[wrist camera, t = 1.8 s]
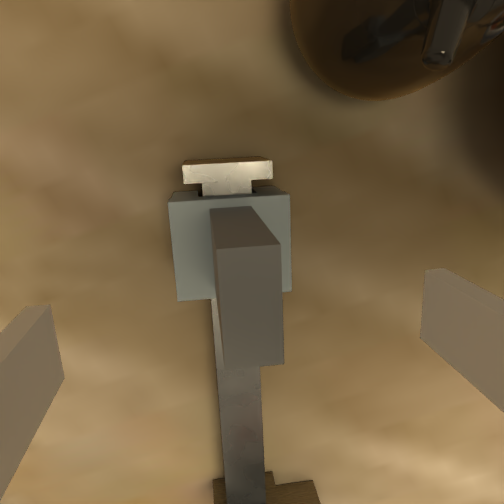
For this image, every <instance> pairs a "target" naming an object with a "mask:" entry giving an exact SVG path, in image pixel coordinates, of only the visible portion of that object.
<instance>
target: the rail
mask: <svg viewBox="0 0 504 504" xmlns="http://www.w3.org/2000/svg"><path fill="white" fill-rule="evenodd" d="M182 168H183V180H184V184H191V183H202V192H203V197H204V196H220V195H236V194H251V193H252V186H251V180H258V179H273V166H272V160H269V159H266V158H263V157H241V158H222V159H204V160H185V161H184V163H183V165H182ZM211 307H212V320H213V332H214V345H215V358H216V371H217V383H218V396H219V409H220V422H221V435H222V447H223V460H224V473H225V478H222V479H214V480H213V493H214V504H279V500H278V495H277V491H276V486H275V482H274V477H273V473H272V472H265V468H264V447H263V425H262V403H261V382H260V367H252V368H243V369H234V370H225V366H224V358H223V350H222V341H221V333H220V325H219V316H218V308H217V299H216V298H213V299H211Z"/></svg>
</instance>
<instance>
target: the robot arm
mask: <svg viewBox="0 0 504 504" xmlns="http://www.w3.org/2000/svg"><path fill="white" fill-rule="evenodd" d="M420 338H421V339H422V340H423V341H424V342H425V343H426V344H428V345H429V346H430V347H431V348H432V349H433V350H434V351H435V352H437V353H438V354H439V355H440V356H441V357H442V358H443V359H444V360H445V361H447V362H448V363H449V364H450V365H451V366H452V367H453V368H454V369H456V370H457V371H458V372H459V373H460V374H461V375H462V376H463V377H464V378H466V379H467V380H468V381H469V382H470V383H471V384H472V385H473V386H475V387H476V388H477V389H478V390H479V391H480V392H481V393H482V394H484V395H485V396H486V397H487V398H488V399H489V400H490V401H491V402H492V403H494V404H495V405H496V406H497V407H498V408H499V409H500V410H501V411H503V412H504V299H502V298H500V297H498V296H496V295H494V294H492V293H490V292H489V291H487V290H485V289H483V288H481V287H479V286H477V285H475V284H474V283H472V282H470V281H468V280H466V279H464V278H462V277H460V276H458V275H457V274H455V273H453V272H451V271H449V270H447V269H445V268H441V269H430V270H425V279H424V293H423V306H422V319H421V333H420ZM63 380H64V373H63V368H62V362H61V357H60V352H59V347H58V342H57V337H56V332H55V326H54V321H53V316H52V311H51V306H50V304H49V305H38V306H28V307H25V308H24V309H23V310H22V311H21V312H20V313H19V314H18V315H17V316H16V317H15V318H14V319H13V320H12V321H11V322H10V323H9V325H8V326H7V327H6V328H5V329H4V330H3V331H2V332H1V333H0V500H1V498H2V496H3V495H4V493H5V491H6V489H7V487H8V485H9V483H10V481H11V479H12V477H13V475H14V473H15V472H16V470H17V468H18V466H19V464H20V462H21V460H22V458H23V456H24V454H25V452H26V451H27V449H28V447H29V445H30V443H31V441H32V439H33V437H34V435H35V433H36V431H37V429H38V428H39V426H40V424H41V422H42V420H43V418H44V416H45V414H46V412H47V410H48V408H49V406H50V405H51V403H52V401H53V399H54V397H55V395H56V393H57V391H58V389H59V387H60V385H61V384H62V382H63Z"/></svg>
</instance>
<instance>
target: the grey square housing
mask: <svg viewBox="0 0 504 504" xmlns="http://www.w3.org/2000/svg"><path fill="white" fill-rule="evenodd" d="M275 486H276V491H277V495H278V500H279V504H321V503H320V501H319V498H318V495H317V492H316V489H315V486H314V483H313V480H311V481H304V482H297V483H290V484H283V485H275Z"/></svg>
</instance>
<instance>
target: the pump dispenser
mask: <svg viewBox="0 0 504 504" xmlns="http://www.w3.org/2000/svg"><path fill="white" fill-rule="evenodd" d="M290 15H291V22H292V28H293V32H294V35H295V39H296V42H297V44H298V47H299V49H300V51H301V53H302V55H303V57H304V59H305V60H306V62H307V64H308V65H309V66H310V68H311V69H312V70H313V72H314V73H315V74H316V75H317V76H318V77H319V78H320V79H321V80H322V81H323V82H324V83H326V84H327V85H328V86H330V87H331V88H333V89H334V90H336V91H338V92H340V93H342V94H344V95H346V96H349V97H352V98H355V99H360V100H367V101H381V100H389V99H394V98H398V97H402V96H405V95H408V94H411V93H413V92H416V91H418V90H420V89H422V88H424V87H426V86H428V85H430V84H432V83H434V82H436V81H438V80H440V79H441V78H443V77H445V76H447V75H448V74H450V73H451V72H453V71H455V70H456V69H458V68H459V67H460V66H462V65H463V64H465V63H466V62H467V61H469V60H470V59H471V58H473V57H474V56H475V55H477V54H478V53H479V52H480V51H481V50H483V49H484V48H485V47H486V46H488V45H489V44H490V43H491V42H492V41H493V40H495V39H496V38H497V37H498V36H499V35H500V34H501V33H502V32H504V0H290Z"/></svg>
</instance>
